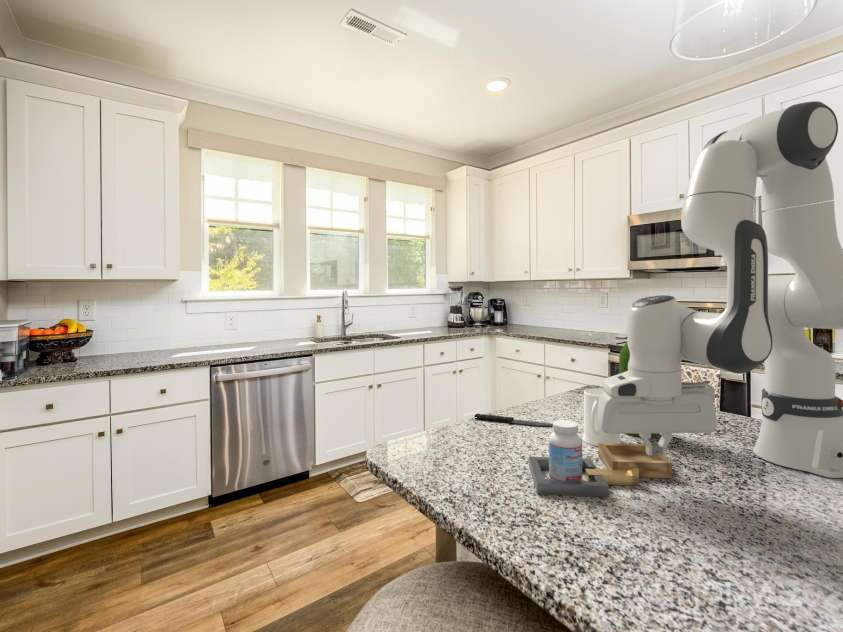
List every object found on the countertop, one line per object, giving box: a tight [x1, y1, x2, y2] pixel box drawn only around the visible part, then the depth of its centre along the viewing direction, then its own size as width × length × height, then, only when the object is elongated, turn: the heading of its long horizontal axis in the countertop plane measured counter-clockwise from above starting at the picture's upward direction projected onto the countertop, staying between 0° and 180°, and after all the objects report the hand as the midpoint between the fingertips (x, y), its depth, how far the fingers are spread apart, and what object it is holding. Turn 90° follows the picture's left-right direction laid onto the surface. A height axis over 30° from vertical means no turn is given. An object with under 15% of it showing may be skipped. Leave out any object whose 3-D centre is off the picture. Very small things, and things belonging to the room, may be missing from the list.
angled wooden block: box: [584, 463, 640, 487], centre depth 81 cm, size 9×3×3 cm, turn 83°
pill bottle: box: [548, 419, 583, 481], centre depth 82 cm, size 6×6×11 cm
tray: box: [597, 443, 673, 479], centre depth 88 cm, size 11×10×3 cm
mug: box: [582, 388, 622, 447], centre depth 101 cm, size 12×8×12 cm
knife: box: [473, 413, 553, 427], centre depth 118 cm, size 25×2×5 cm
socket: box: [528, 456, 610, 498], centre depth 82 cm, size 12×12×2 cm
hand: (655, 454), depth 81 cm, fingers closed
